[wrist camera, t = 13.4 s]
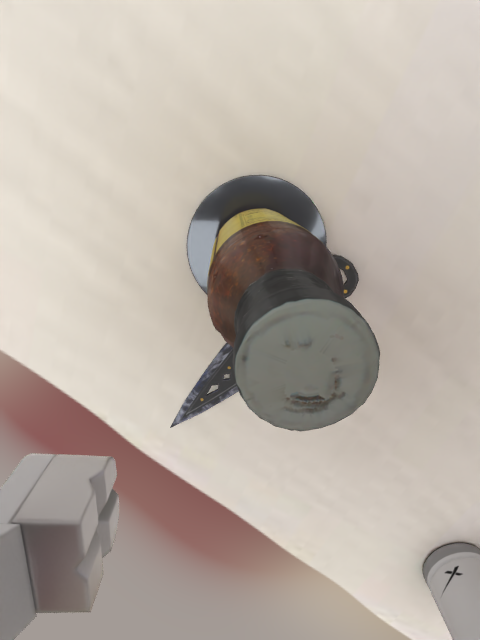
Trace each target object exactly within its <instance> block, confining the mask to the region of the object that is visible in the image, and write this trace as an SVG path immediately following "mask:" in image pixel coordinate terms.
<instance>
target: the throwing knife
mask: <svg viewBox="0 0 480 640" xmlns="http://www.w3.org/2000/svg"><path fill="white" fill-rule="evenodd" d="M333 257H334V259H335V260H336V262H337V265H338V267H339V268H340V269H342V270H344V272H345V275H346V277H347V281H346V282H345V283H344V298H347V297H349V296H350V295H351V294H352V292H353V291H354V290H355V288H356V286H357V283H358V281H359V279H358V273H357V271H356V269H355V268H354V266H353V264H352V263H351V262H349V261H348V260H346V259H345V258H343V257H342V256H338V255H333ZM232 361H233V347H232V346H231V345H229V344H228V343H226V344H225V346H224V347H223V348H222V349H221V351H220V352H219V353H218V355H217V356H216V357H215V359H214V360H213V361H212V363H211V364H210V365H209V367H208V368H207V369H206V371H205V372H204V374H203V375H202V376H201V378H200V379H199V381H198V382H197V384H196V385H195V387H194V388H193V390H192V391H191V393H190V394H189V395H188V397H187V398H186V400H185V402H184V404H183V405H182V407H181V409H180V411H179V413H178V414H177V416H176V418H175V420H174V422H173V423H172V425H171V427H173V426H175V425H177V424H179V423H181V422H183V421H185V420H188V419H190V418H192V417H194V416H196V415H198V414H200V413H202V412H204V411H206V410H207V409H209V408H211V407H213V406H214V405H216V404H218V403H220V402H221V401H223V400H225V399H227V398H228V397H230V396H232V395H233V394H235V393H236V392H238V391H239V390H238V387H237V385H236V381H235V376H234V369H233V362H232ZM225 374H230V378H227V379H223V378H224V375H225ZM212 385H219V386H218V389H217V390H215V391H213V392H211V393H209V394H207V393H208V391H209V390H210V388H211V386H212ZM171 427H170V428H171Z"/></svg>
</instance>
